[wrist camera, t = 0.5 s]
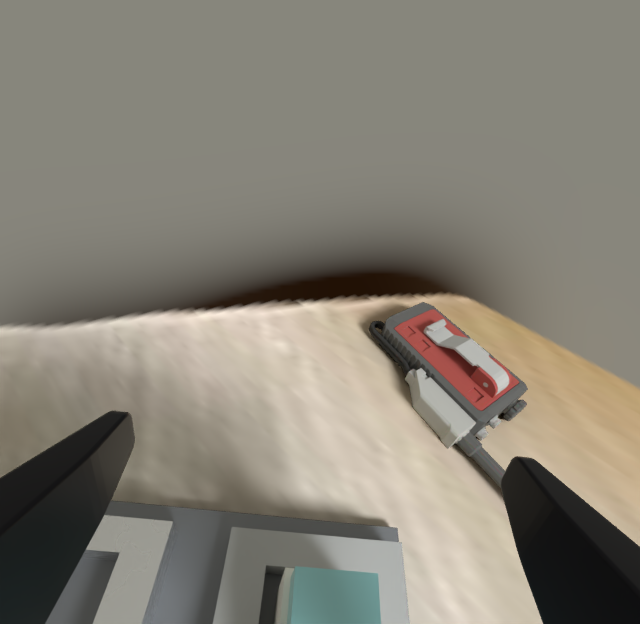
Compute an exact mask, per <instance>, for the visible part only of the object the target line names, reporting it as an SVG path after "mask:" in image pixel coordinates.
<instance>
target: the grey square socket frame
mask: <svg viewBox="0 0 640 624" xmlns="http://www.w3.org/2000/svg"><path fill="white" fill-rule="evenodd" d="M295 566H299V567H311V568H323V569H334V570H346V571H357V572H369V573H378V579H379V596H380V613H381V624H410V620H409V610H408V600H407V591H406V581H405V571H404V561H403V552H402V543H401V542H390V541H379V540H368V539H358V538H347V537H336V536H325V535H314V534H304V533H293V532H282V531H271V530H260V529H250V528H239V527H232V529H231V534H230V539H229V544H228V549H227V554H226V559H225V564H224V569H223V575H222V580H221V585H220V590H219V595H218V600H217V605H216V610H215V615H214V620H213V624H259V616H260V609H261V601H262V593H263V585H264V578H265V573H266V574H278V575H283V573H284V570H285V567H286V568H295Z"/></svg>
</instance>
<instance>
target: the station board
mask: <svg viewBox="0 0 640 624" xmlns="http://www.w3.org/2000/svg"><path fill="white" fill-rule="evenodd" d="M105 515H109V516H120V517H131V518H142V519H152V520H163V521H173V522H174V524H175V526H176V529H177V531H178V535H177V539H176V542H175V546H174V549H173V553H172V556H171V559H170V563H169V566H168V570H167V573H166V577H165V580H164V583H163V587H162V590H161V594H160V597H159V601H158V604H157V608H156V611H155V614H154V618H153V621H152V624H213V620H214V615H215V610H216V605H217V600H218V595H219V590H220V585H221V580H222V575H223V569H224V564H225V559H226V554H227V549H228V544H229V539H230V534H231V529H232V527H239V528H250V529H260V530H271V531H282V532H293V533H304V534H314V535H325V536H336V537H347V538H358V539H368V540H379V541H390V542H399V540H398V530H397V528H393V527H383V526H372V525H362V524H351V523H341V522H330V521H320V520H309V519H299V518H288V517H278V516H267V515H257V514H246V513H236V512H225V511H214V510H204V509H193V508H183V507H172V506H162V505H151V504H141V503H130V502H120V501H110V504H109V506H108V508H107V510H106V513H105ZM115 564H116V561H113V560H101V559H90V558H81V559H80V561H79V563H78V565H77V567H76V568H75V570H74V572H73V574H72V576H71V578H70V579H69V581H68V583H67V585H66V587H65V588H64V590H63V592H62V594H61V596H60V598H59V599H58V601H57V603H56V605H55V607H54V608H53V610H52V612H51V614H50V616H49V618H48V619H47V621H46V623H45V624H93V621H94V619H95V616H96V614H97V611H98V608H99V606H100V603H101V601H102V598H103V595H104V593H105V590H106V587H107V585H108V582H109V580H110V577H111V574H112V572H113V569H114V566H115ZM282 576H283V575H278V574H266V573H265V578H264V585H263V593H262V601H261V609H260V616H259V624H274V617H275V607H276V598H277V591H278V588H279V585H280V582H281V579H282Z"/></svg>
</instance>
